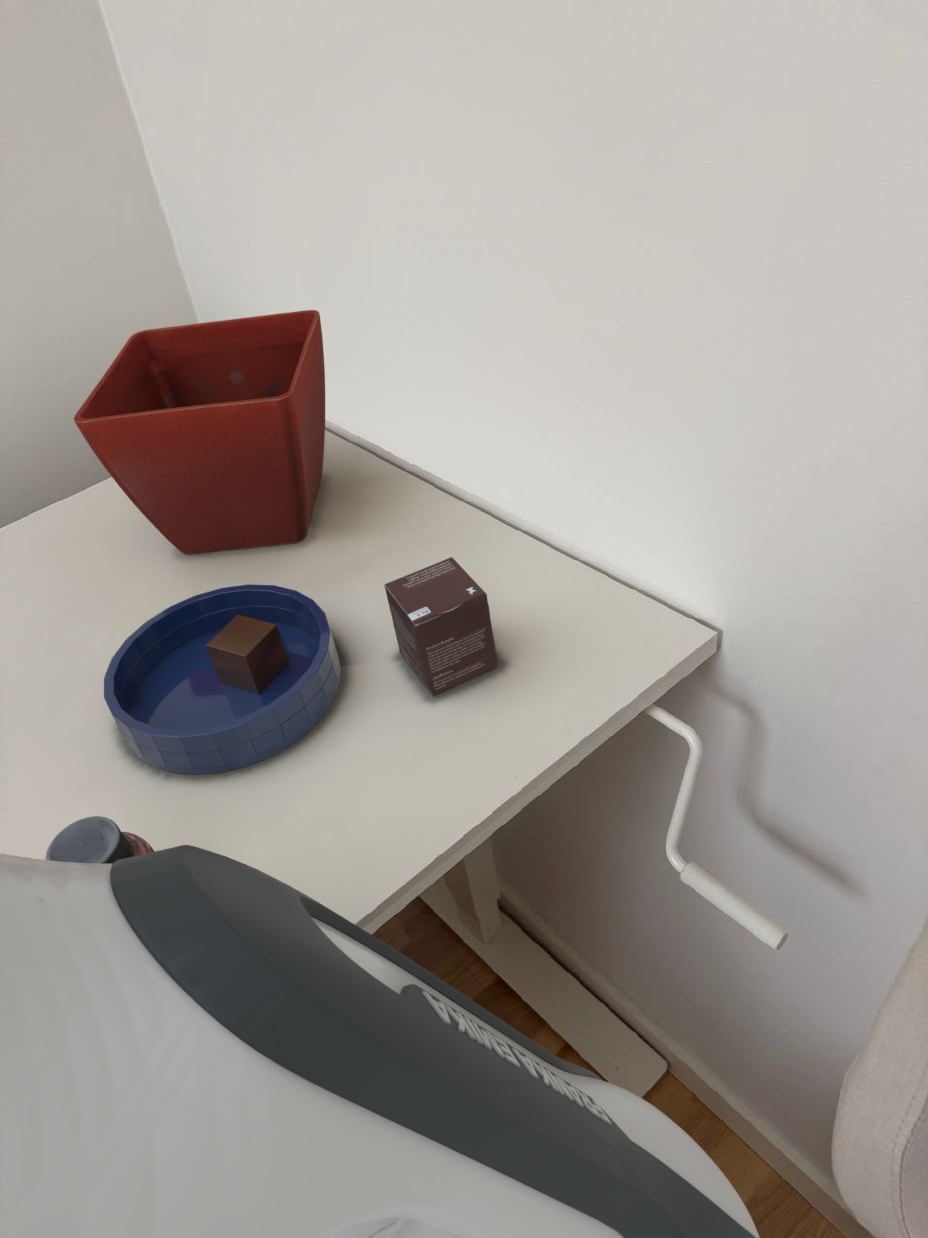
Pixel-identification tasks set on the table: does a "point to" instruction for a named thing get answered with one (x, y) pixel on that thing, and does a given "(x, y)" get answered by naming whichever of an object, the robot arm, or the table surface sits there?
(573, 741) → the table surface
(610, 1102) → the robot arm
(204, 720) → the bowl
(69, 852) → the supplement bottle
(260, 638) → the block
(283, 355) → the flower pot
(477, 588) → the box
